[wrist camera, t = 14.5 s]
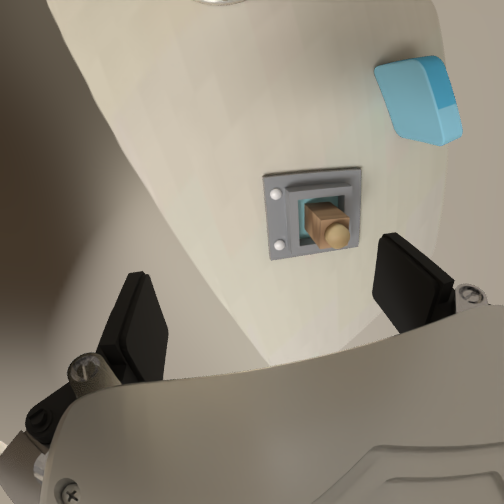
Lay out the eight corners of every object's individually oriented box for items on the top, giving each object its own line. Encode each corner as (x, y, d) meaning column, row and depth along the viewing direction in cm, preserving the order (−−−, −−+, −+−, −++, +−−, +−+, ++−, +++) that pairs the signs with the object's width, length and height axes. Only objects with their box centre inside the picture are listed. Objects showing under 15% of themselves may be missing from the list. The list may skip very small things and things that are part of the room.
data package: (415, 129, 38) (465, 139, 27) (396, 136, 38) (446, 148, 28) (391, 62, 33) (441, 54, 22) (370, 67, 33) (419, 58, 22)
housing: (262, 176, 39) (266, 181, 36) (358, 168, 40) (369, 173, 37) (269, 257, 45) (273, 268, 42) (355, 244, 46) (364, 253, 43)
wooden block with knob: (304, 203, 41) (325, 224, 33) (329, 201, 41) (354, 221, 33) (304, 228, 42) (323, 254, 35) (328, 226, 43) (352, 250, 35)
